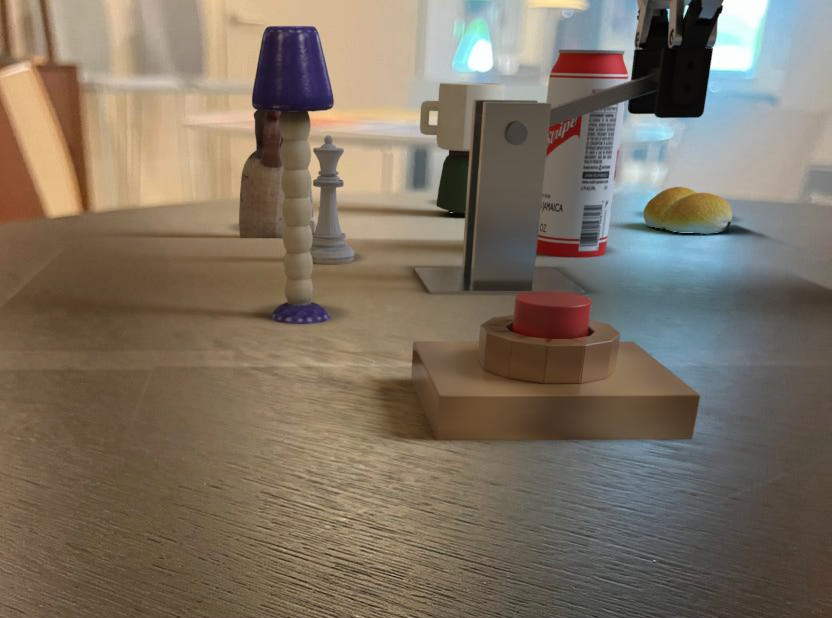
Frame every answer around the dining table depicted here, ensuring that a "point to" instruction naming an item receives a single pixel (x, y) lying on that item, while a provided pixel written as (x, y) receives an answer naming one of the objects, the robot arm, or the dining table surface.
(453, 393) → the button base
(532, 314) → the timer button
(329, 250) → the chess piece
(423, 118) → the character mug
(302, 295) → the toy lamp
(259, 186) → the figurine
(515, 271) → the switch bracket
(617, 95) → the switch lever
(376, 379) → the dining table surface
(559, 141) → the beer can
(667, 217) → the bread roll
